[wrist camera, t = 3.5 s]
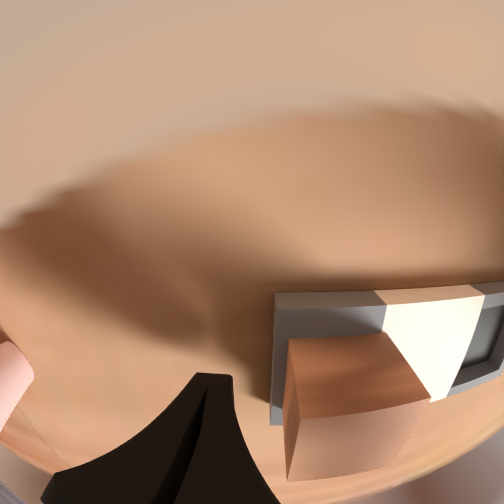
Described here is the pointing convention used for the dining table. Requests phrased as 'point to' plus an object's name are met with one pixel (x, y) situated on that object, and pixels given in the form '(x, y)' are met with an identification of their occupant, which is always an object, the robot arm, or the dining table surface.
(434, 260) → the dining table surface
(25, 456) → the dining table surface
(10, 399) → the smoothie
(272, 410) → the board
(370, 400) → the cube
